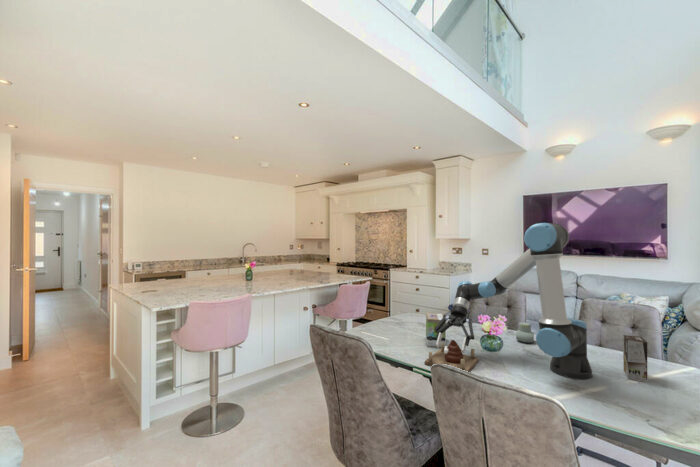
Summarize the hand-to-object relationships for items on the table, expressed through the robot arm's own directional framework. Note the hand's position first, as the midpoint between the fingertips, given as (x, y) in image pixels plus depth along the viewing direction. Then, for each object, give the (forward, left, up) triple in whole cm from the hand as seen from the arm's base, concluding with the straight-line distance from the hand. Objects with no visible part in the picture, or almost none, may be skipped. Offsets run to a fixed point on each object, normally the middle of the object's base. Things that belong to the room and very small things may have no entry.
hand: (449, 348), depth 147 cm
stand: (0, -3, -7) cm, 8 cm away
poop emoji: (-1, -3, -6) cm, 7 cm away
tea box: (+17, -26, -8) cm, 32 cm away
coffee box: (-67, -33, -7) cm, 75 cm away
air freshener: (-23, -57, -8) cm, 62 cm away
